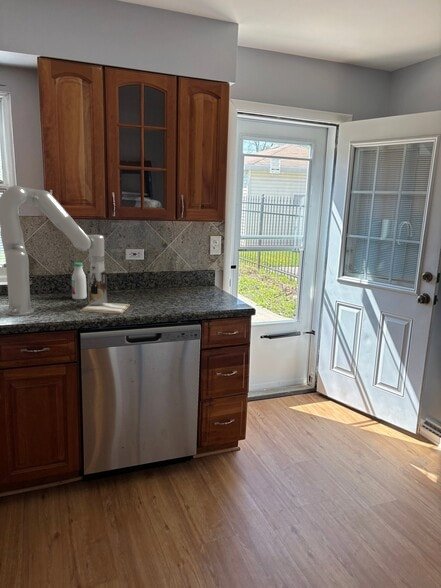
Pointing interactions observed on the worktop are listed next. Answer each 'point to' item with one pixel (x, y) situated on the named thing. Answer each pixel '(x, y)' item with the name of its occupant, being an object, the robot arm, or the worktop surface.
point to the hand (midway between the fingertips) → (97, 291)
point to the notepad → (105, 308)
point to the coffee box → (102, 290)
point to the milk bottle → (78, 282)
